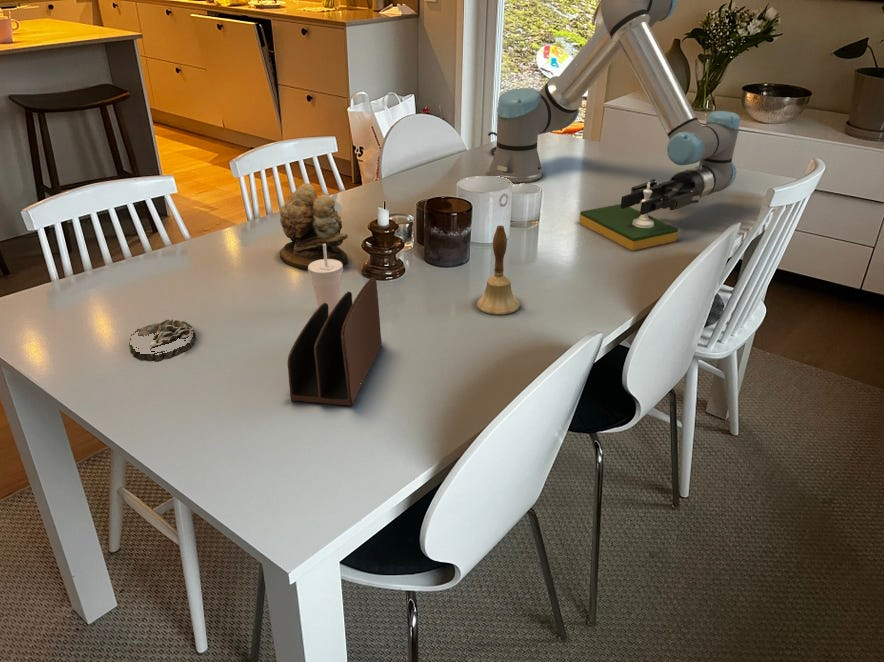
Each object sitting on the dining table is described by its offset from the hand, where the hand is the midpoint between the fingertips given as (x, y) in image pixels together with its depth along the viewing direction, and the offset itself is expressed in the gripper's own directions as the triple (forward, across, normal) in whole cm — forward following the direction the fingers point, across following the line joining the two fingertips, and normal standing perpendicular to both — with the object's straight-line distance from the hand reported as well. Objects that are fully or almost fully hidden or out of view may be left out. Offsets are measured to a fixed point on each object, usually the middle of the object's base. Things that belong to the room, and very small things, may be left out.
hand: (632, 205), depth 168 cm
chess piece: (-5, 0, +6) cm, 8 cm away
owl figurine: (+60, -39, +9) cm, 72 cm away
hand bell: (+46, +4, +9) cm, 47 cm away
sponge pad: (-5, -4, +9) cm, 11 cm away
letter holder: (+83, +4, +9) cm, 83 cm away
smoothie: (+72, -15, +9) cm, 74 cm away
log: (+101, -24, +9) cm, 104 cm away
